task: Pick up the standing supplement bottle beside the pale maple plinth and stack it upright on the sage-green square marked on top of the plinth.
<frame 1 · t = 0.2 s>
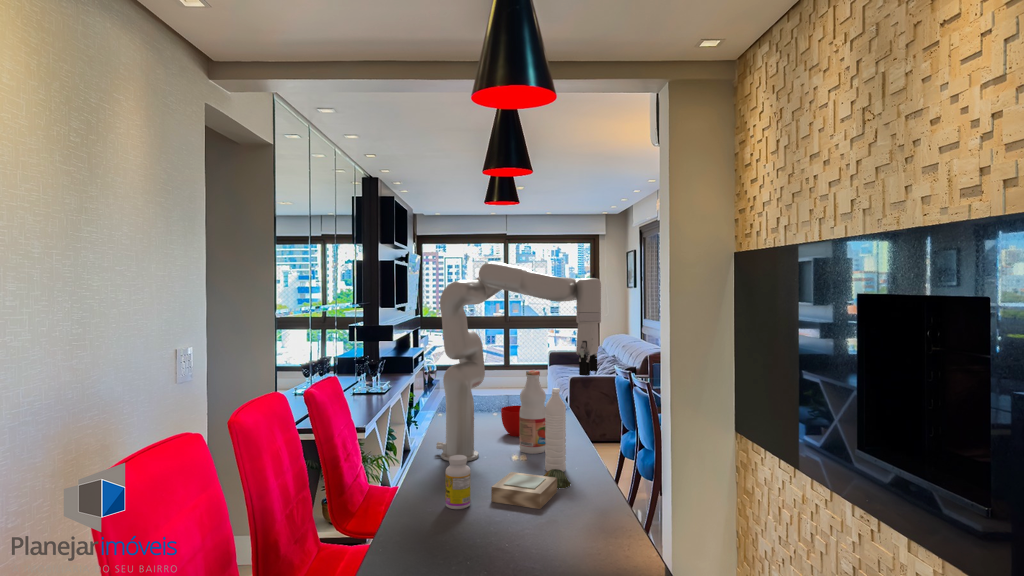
hand: (588, 373, 187), 31 cm above the table, tool pointing down, fingers open, 9 cm apart
water bottle: (555, 469, 192), on the table
supplement bottle: (457, 506, 160), on the table
fruit juice: (532, 451, 213), on the table
plinth: (524, 496, 167), on the table
ceramic cup: (520, 433, 237), on the table
seashell: (554, 485, 178), on the table
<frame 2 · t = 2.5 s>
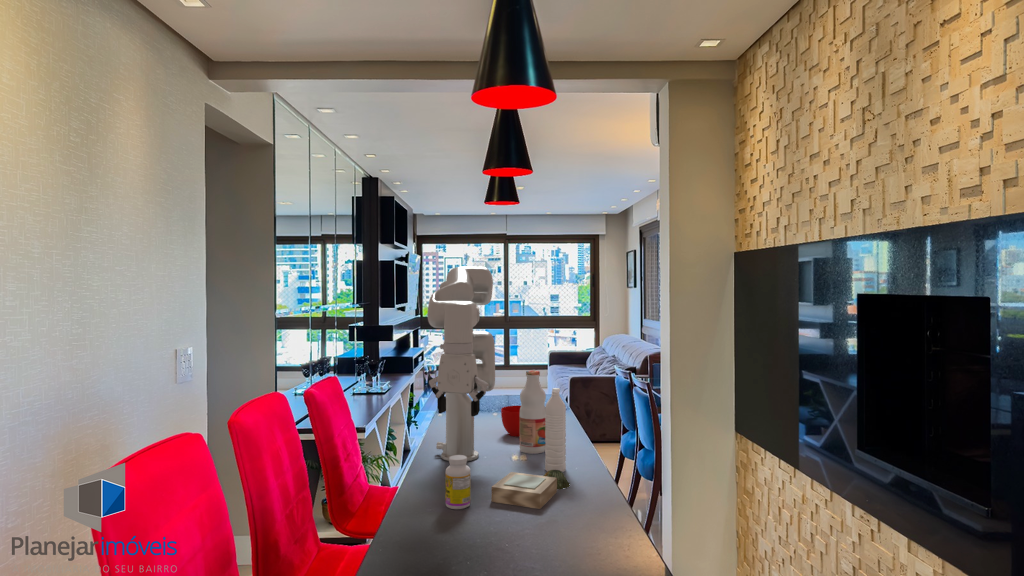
hand: (458, 413, 160), 24 cm above the table, tool pointing down, fingers open, 9 cm apart
nothing on the table moved.
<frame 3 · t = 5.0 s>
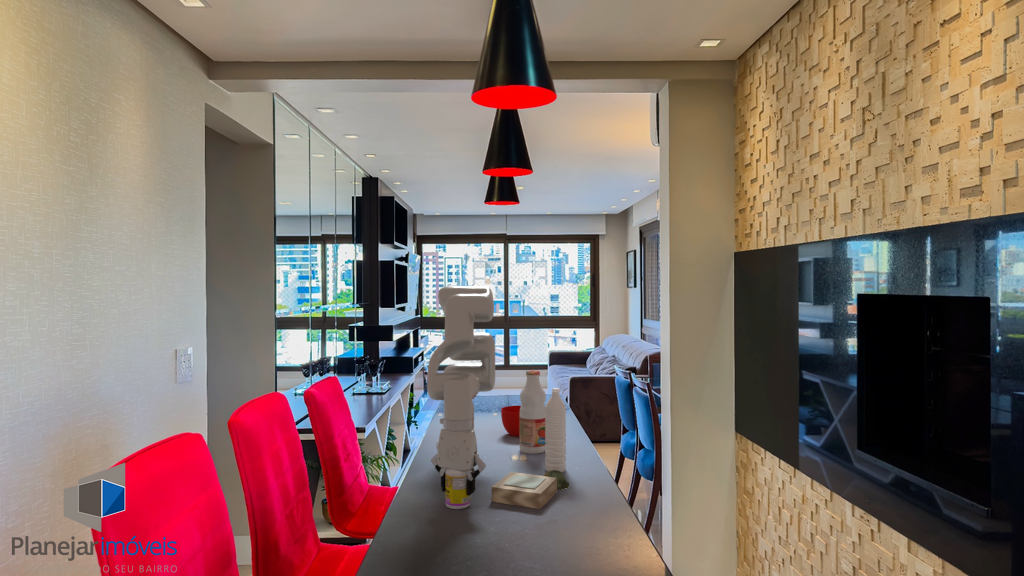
hand: (457, 491, 160), 4 cm above the table, tool pointing down, fingers closed on supplement bottle, 6 cm apart
supplement bottle: (457, 506, 160), on the table, touching gripper
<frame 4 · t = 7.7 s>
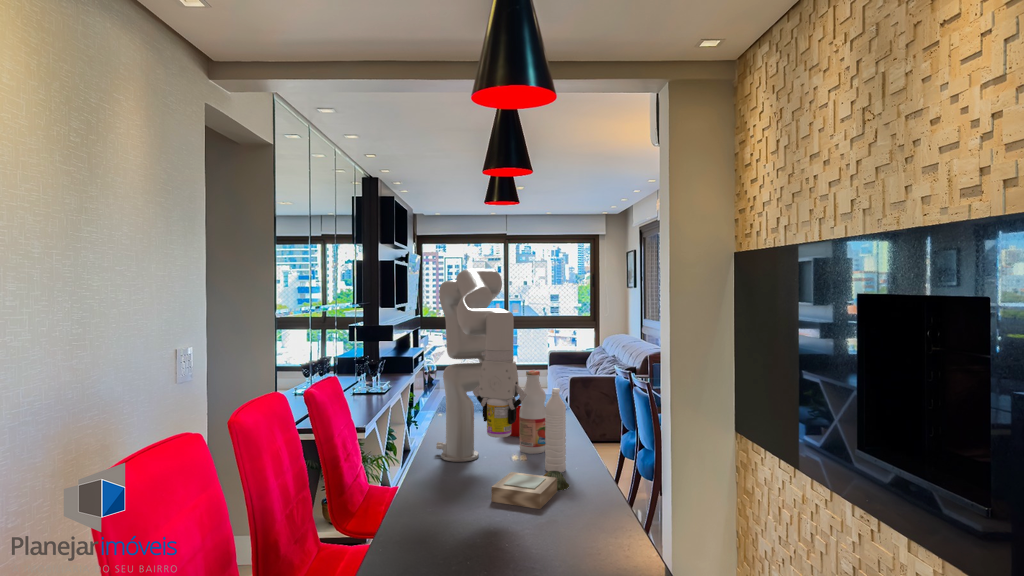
hand: (499, 421, 164), 21 cm above the table, tool pointing down, fingers closed on supplement bottle, 6 cm apart
supplement bottle: (499, 435, 164), point 17 cm above the table, touching gripper
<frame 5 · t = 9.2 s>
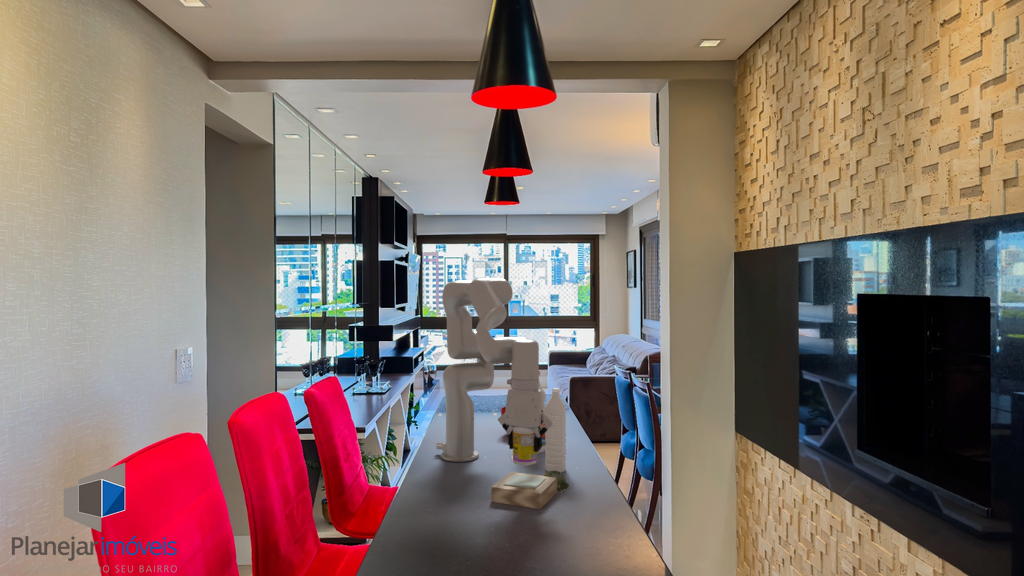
hand: (524, 448, 167), 13 cm above the table, tool pointing down, fingers closed on supplement bottle, 6 cm apart
supplement bottle: (524, 463, 167), point 9 cm above the table, touching gripper
when the fingers open (9 cm above the table, at t = 10.4 s): supplement bottle drops 1 cm, resting on plinth.
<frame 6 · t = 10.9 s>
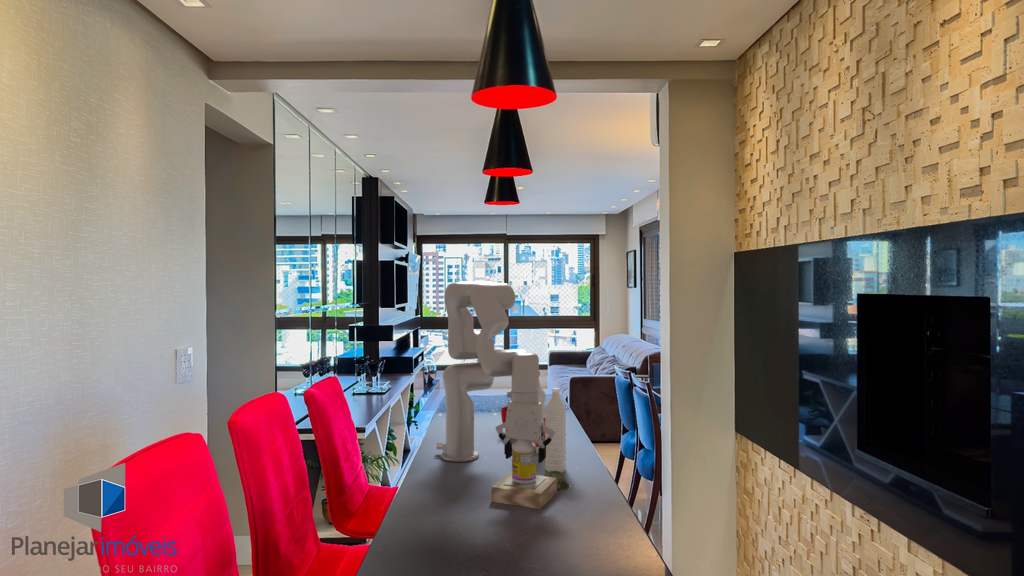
hand: (525, 459, 167), 10 cm above the table, tool pointing down, fingers open, 9 cm apart
supplement bottle: (524, 481, 167), point 4 cm above the table, touching plinth
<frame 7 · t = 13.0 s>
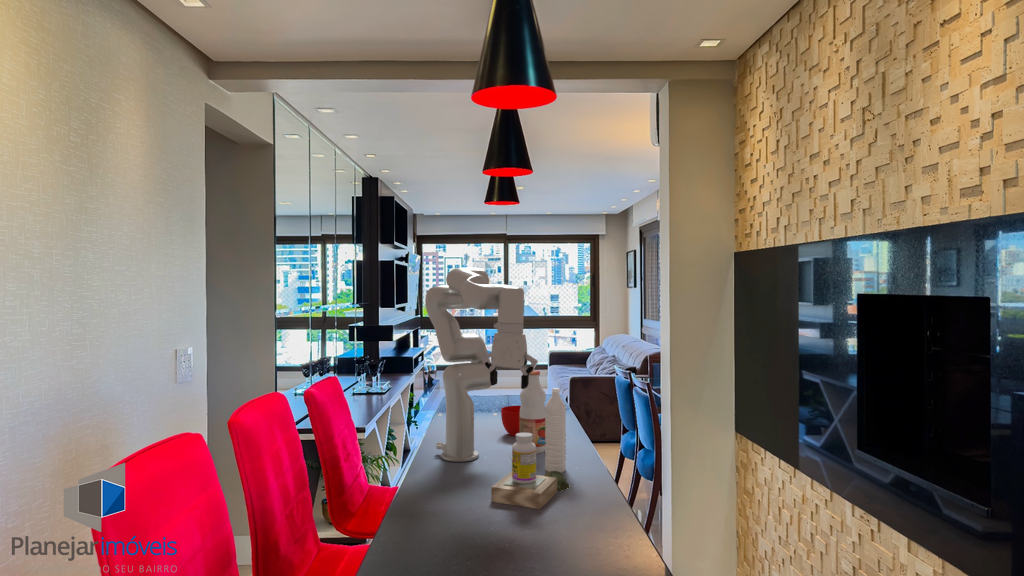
hand: (508, 386, 178), 29 cm above the table, tool pointing down, fingers open, 9 cm apart
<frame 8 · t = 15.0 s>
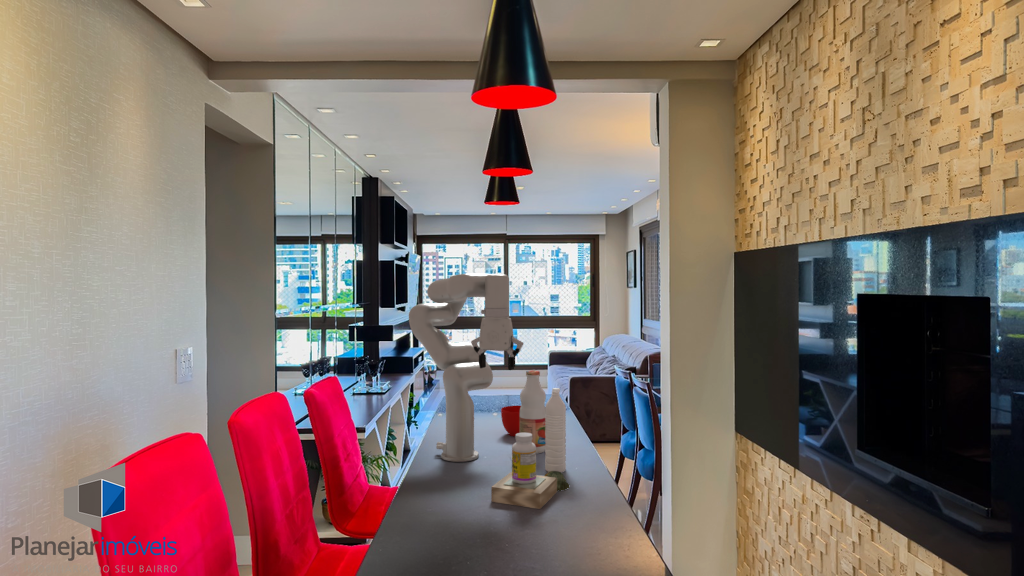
hand: (496, 368, 188), 32 cm above the table, tool pointing down, fingers open, 9 cm apart
at the end: supplement bottle inside the target area on the plinth (0.3 cm from its centre), point 4.1 cm above the plinth's base; supplement bottle tilted 0°; the gripper is holding nothing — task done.
